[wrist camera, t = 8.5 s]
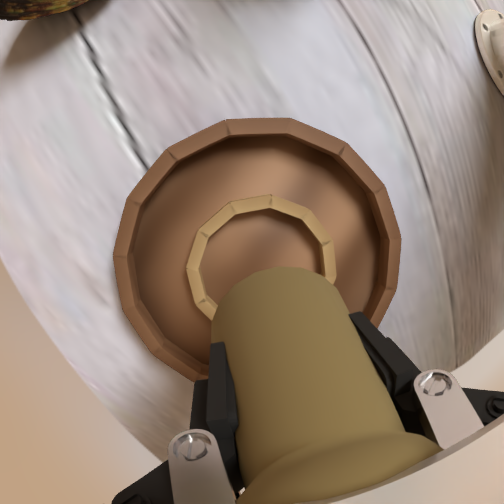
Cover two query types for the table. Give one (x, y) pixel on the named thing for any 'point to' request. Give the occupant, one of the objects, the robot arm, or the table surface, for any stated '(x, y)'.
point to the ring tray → (249, 229)
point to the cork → (307, 393)
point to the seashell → (34, 8)
